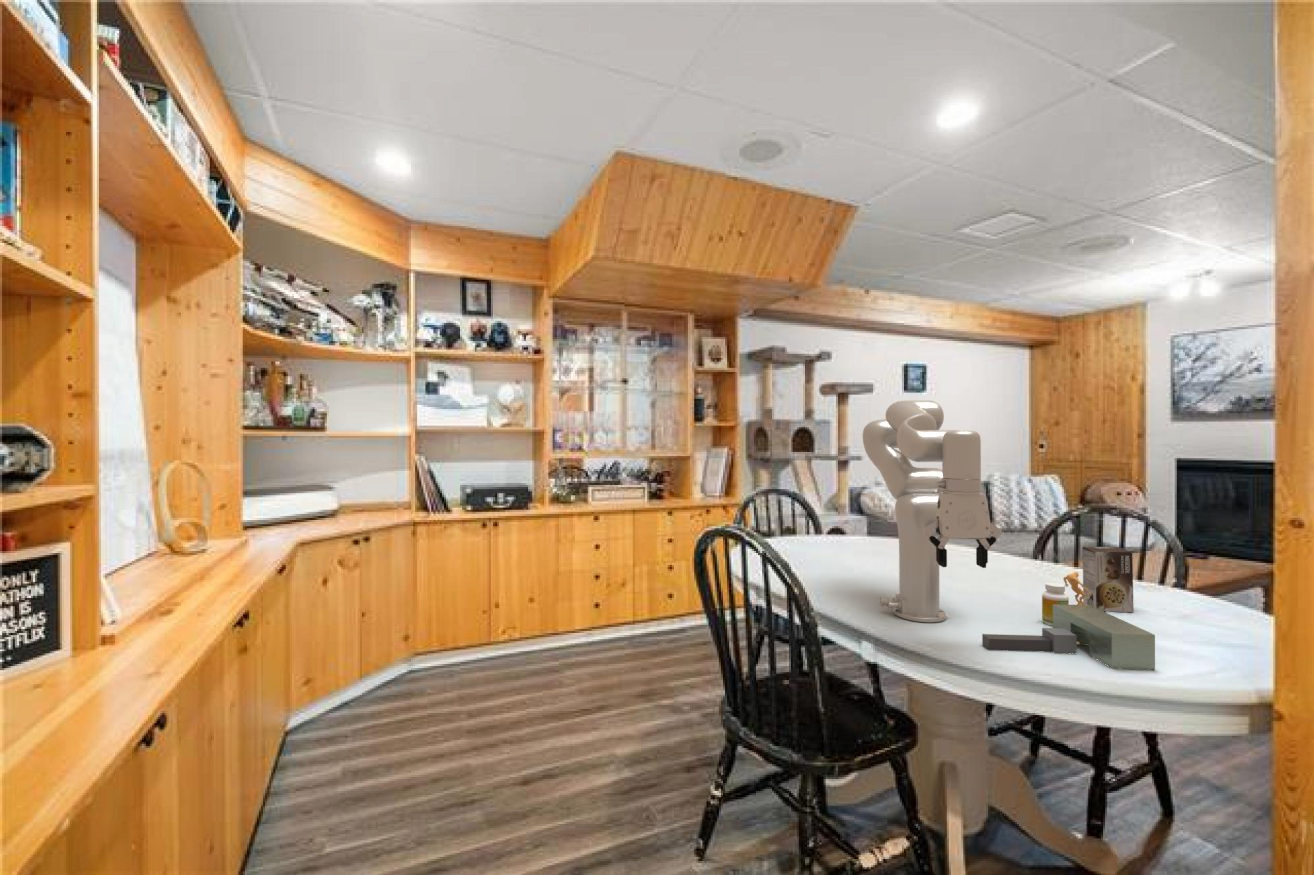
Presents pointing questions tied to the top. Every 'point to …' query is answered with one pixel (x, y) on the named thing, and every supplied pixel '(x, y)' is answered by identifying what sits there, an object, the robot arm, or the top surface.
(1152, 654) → the notched grey-green block
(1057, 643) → the long grey beam
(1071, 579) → the figurine
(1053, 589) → the supplement bottle
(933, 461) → the robot arm
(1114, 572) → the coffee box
